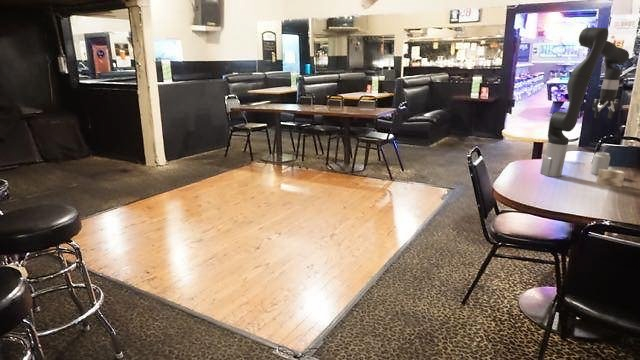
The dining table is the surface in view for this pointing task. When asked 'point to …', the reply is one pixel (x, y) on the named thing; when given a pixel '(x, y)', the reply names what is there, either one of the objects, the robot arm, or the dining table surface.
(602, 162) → the can
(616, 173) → the block
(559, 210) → the dining table surface
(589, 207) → the dining table surface
